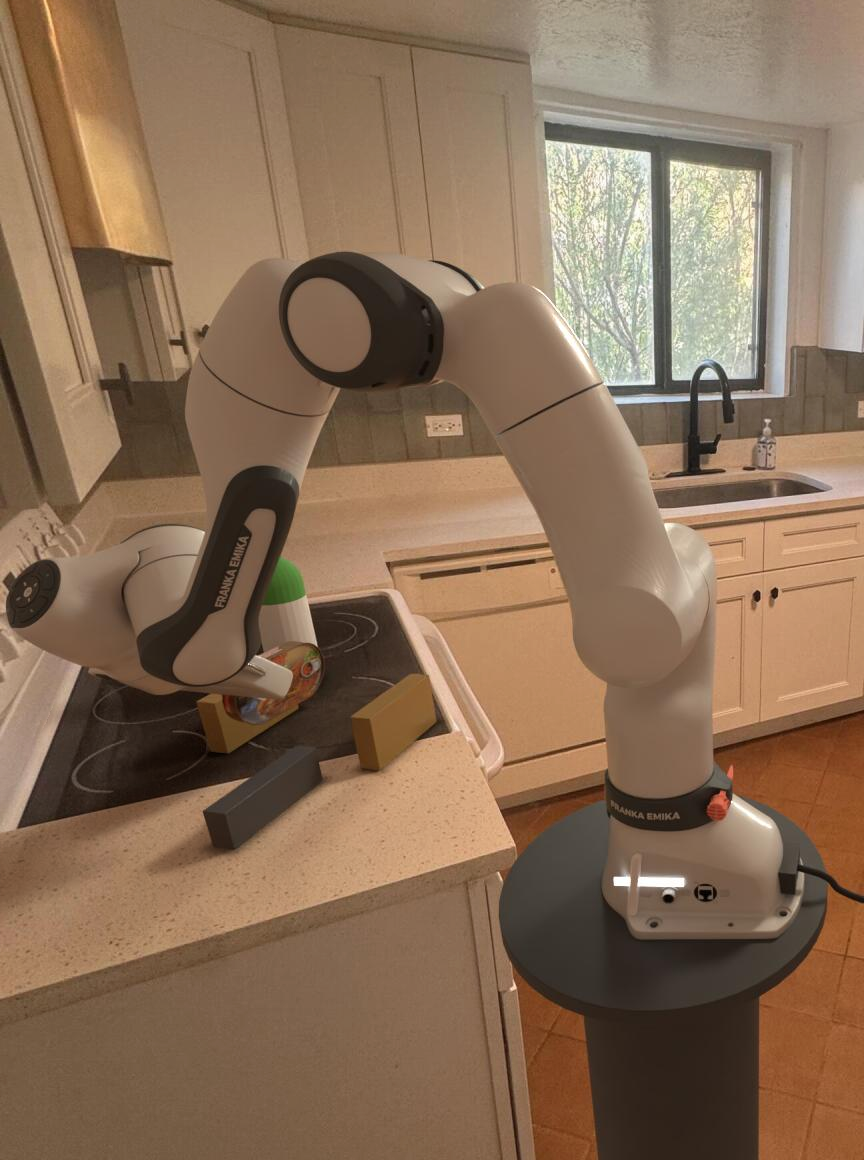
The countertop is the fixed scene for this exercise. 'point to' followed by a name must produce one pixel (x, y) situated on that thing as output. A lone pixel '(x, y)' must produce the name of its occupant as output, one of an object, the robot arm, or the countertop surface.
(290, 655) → the tin
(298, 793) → the grey rectangular block
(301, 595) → the wine bottle
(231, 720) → the tan cardboard-coloured block
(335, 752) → the countertop surface
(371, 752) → the khaki rectangular brick
